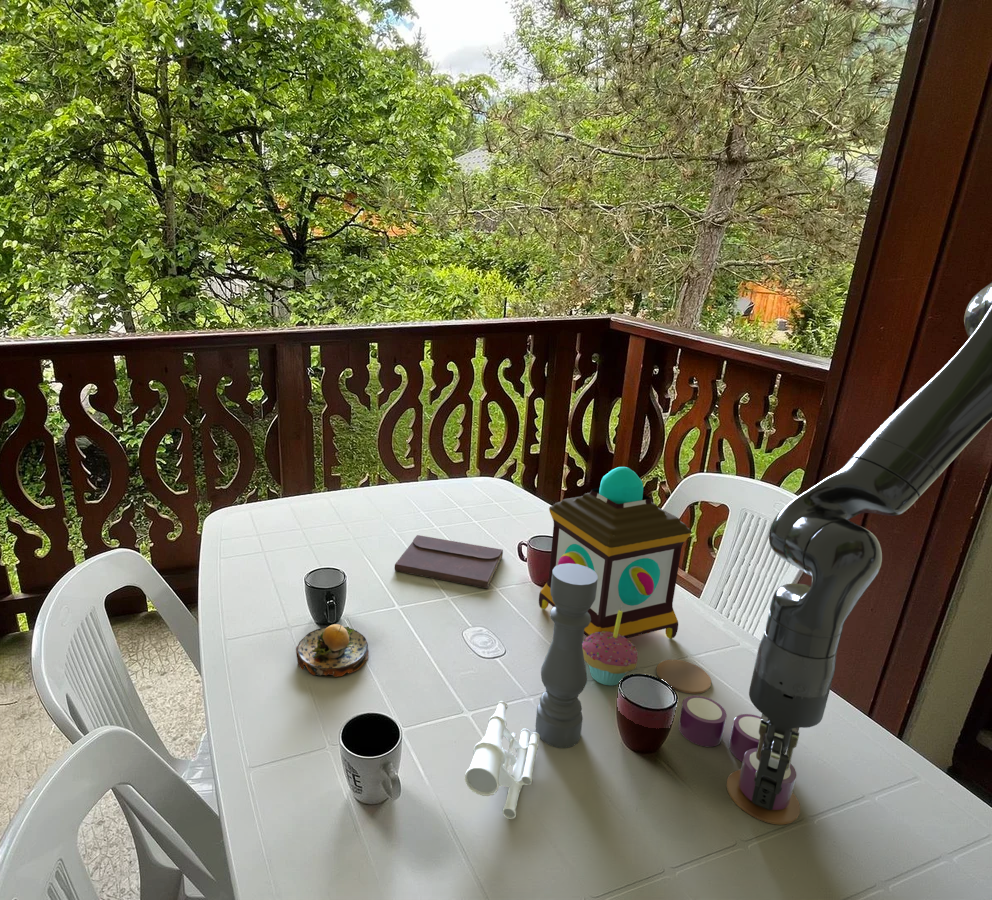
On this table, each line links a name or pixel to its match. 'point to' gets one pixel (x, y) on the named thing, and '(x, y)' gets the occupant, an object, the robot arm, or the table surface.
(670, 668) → the far coaster
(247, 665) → the table surface
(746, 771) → the purple short cylinder
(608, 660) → the cupcake
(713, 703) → the purple cream-topped cylinder
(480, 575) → the brown flap folio case
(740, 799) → the near coaster
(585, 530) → the decorative lantern
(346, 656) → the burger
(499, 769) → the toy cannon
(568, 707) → the candle holder
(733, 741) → the middle dish
